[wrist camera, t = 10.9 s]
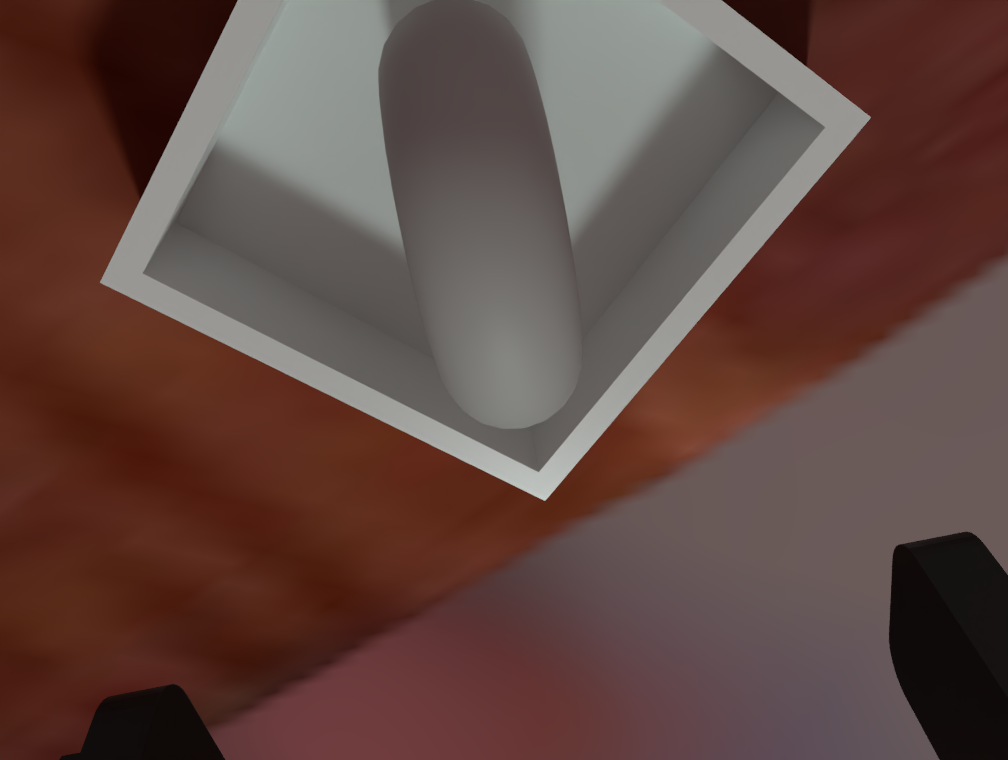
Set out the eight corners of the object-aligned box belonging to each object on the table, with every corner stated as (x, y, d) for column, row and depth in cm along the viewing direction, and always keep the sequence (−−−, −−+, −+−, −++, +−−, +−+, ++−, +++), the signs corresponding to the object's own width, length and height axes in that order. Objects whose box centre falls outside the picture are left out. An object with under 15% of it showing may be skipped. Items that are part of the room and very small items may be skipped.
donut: (559, 298, 28) (615, 503, 20) (450, 319, 28) (460, 531, 20) (504, -49, 23) (547, 28, 15) (371, -21, 23) (337, 70, 15)
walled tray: (146, 217, 27) (99, 282, 23) (382, -257, 21) (371, -275, 18) (531, 419, 32) (544, 500, 28) (806, 74, 26) (870, 117, 22)
